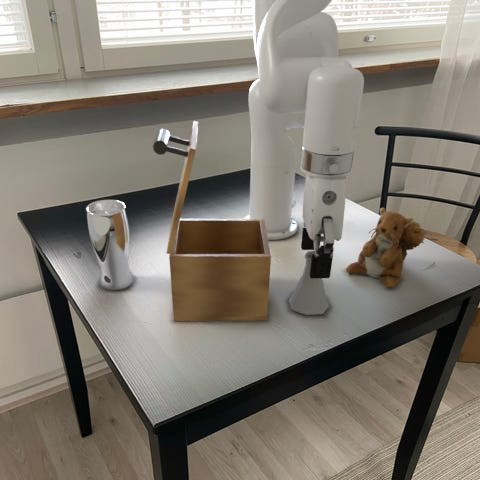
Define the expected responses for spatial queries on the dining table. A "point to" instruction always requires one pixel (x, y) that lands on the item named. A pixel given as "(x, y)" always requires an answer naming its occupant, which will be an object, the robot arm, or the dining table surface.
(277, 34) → the robot arm
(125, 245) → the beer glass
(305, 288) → the flask
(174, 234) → the lid
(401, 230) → the stuffed squirrel
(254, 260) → the chest
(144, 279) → the dining table surface
